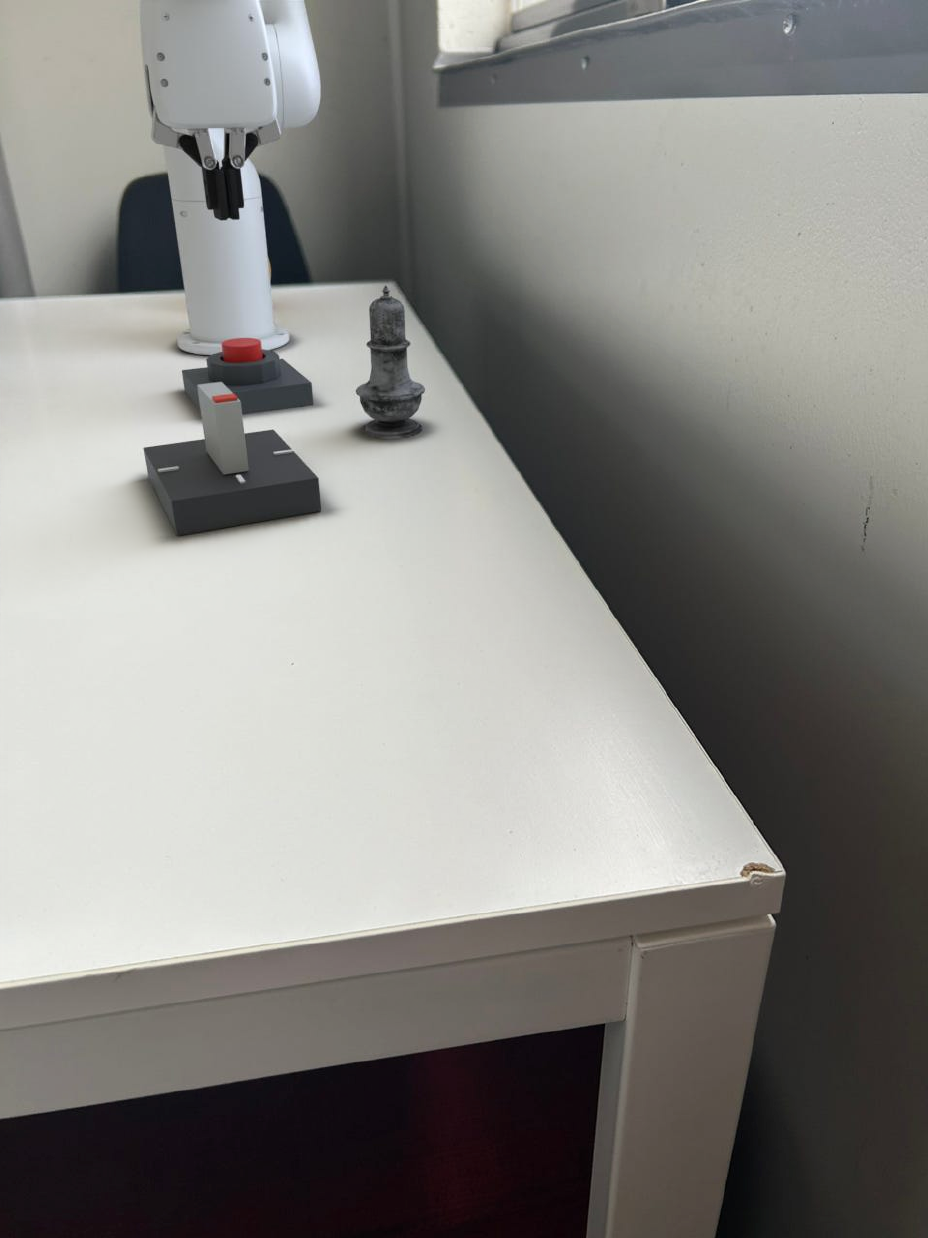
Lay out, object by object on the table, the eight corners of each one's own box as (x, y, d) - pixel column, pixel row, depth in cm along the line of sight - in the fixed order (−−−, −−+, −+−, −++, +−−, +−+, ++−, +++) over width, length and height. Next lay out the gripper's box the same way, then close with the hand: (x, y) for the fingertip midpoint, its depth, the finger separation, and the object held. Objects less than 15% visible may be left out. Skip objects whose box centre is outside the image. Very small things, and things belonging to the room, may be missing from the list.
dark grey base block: (148, 478, 75) (142, 445, 74) (276, 459, 79) (273, 427, 77) (177, 536, 66) (170, 498, 64) (321, 511, 69) (318, 475, 68)
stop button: (220, 358, 93) (217, 339, 92) (257, 354, 94) (255, 335, 93) (228, 367, 90) (226, 348, 89) (267, 362, 91) (265, 343, 91)
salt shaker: (417, 442, 82) (412, 293, 76) (349, 438, 83) (339, 291, 77) (433, 421, 87) (429, 280, 81) (369, 418, 88) (361, 278, 82)
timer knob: (206, 451, 73) (196, 381, 70) (230, 448, 73) (221, 378, 71) (223, 475, 68) (213, 400, 66) (249, 471, 69) (240, 397, 67)
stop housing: (184, 392, 96) (178, 351, 94) (284, 380, 100) (281, 340, 98) (205, 420, 88) (199, 375, 86) (313, 405, 92) (310, 362, 90)
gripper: (278, -26, 83) (297, 209, 92) (92, -31, 78) (132, 218, 87) (303, -34, 77) (321, 217, 86) (104, -41, 72) (145, 228, 81)
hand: (226, 217), depth 86 cm, fingers closed
